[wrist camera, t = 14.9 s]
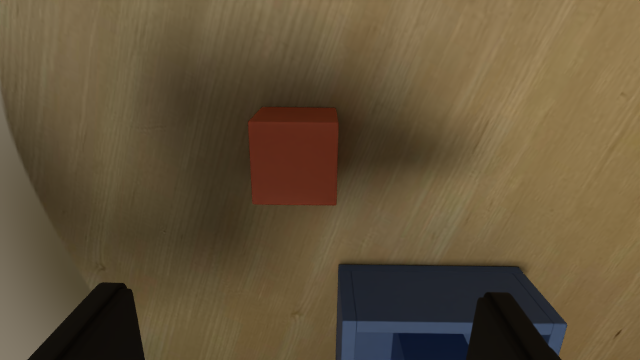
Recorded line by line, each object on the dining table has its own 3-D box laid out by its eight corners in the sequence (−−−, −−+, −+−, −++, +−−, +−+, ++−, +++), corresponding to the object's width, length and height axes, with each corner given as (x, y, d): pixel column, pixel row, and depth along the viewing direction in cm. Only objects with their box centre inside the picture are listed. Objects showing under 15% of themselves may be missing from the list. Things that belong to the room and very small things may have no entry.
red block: (264, 176, 25) (252, 204, 20) (261, 106, 23) (247, 121, 19) (334, 177, 25) (336, 205, 20) (335, 107, 23) (338, 122, 19)
